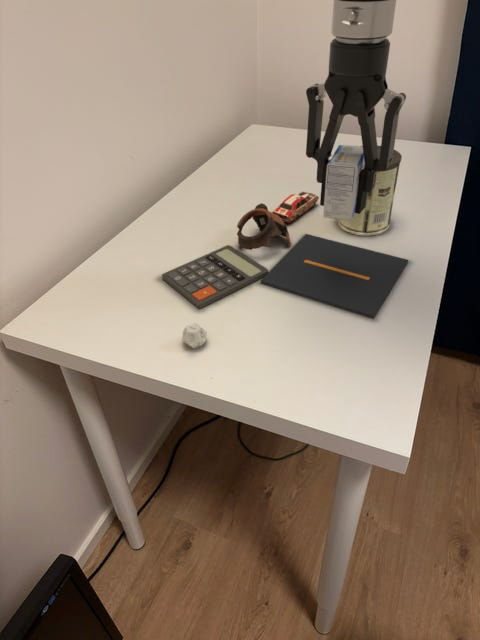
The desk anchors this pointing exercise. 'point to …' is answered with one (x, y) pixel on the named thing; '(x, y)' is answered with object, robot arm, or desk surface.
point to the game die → (194, 335)
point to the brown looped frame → (262, 228)
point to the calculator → (214, 275)
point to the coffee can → (376, 203)
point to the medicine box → (343, 182)
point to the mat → (337, 274)
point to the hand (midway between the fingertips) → (342, 205)
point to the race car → (295, 206)
